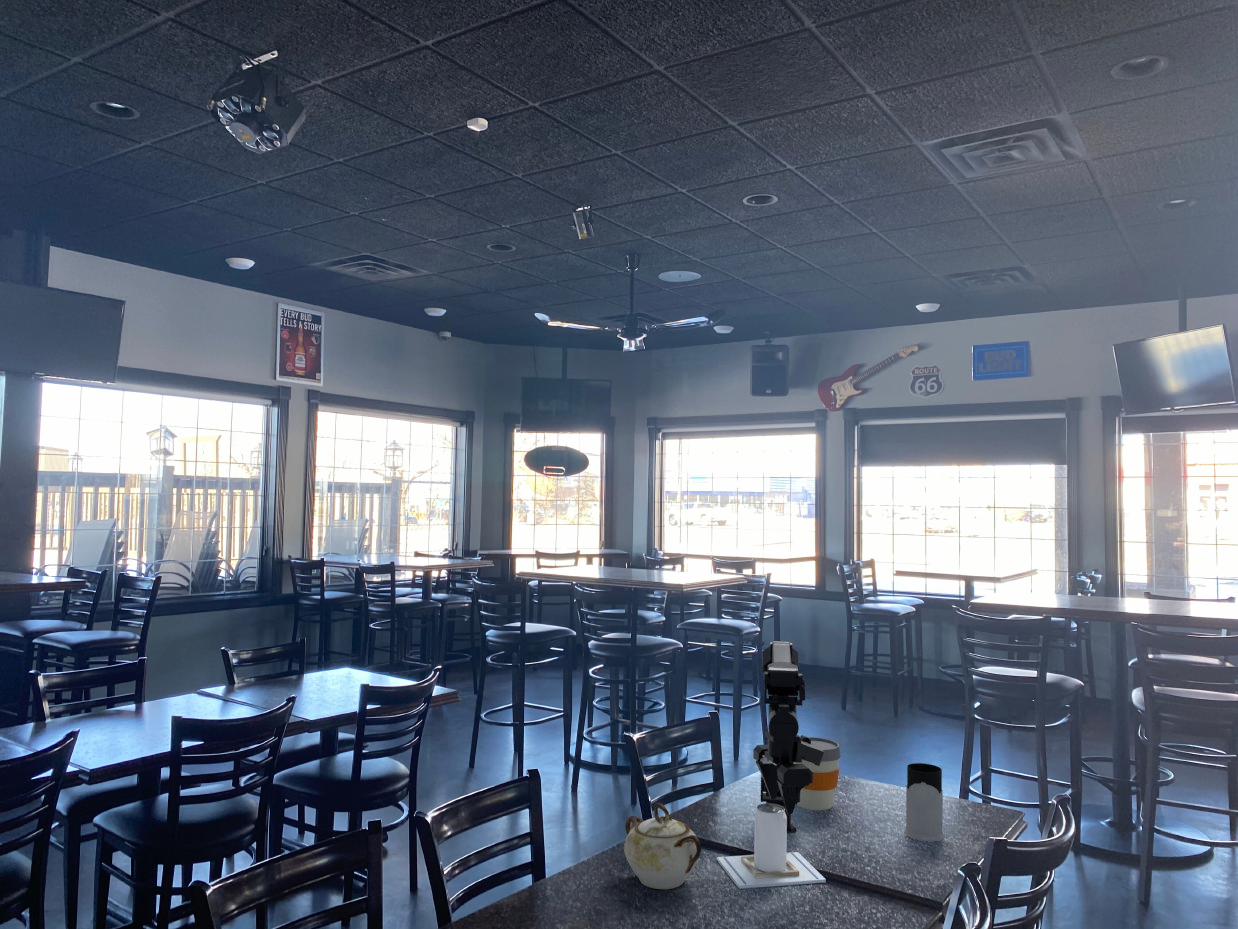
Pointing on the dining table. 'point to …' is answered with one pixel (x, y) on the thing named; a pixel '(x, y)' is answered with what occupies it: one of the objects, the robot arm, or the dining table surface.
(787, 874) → the seat frame
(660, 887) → the sugar bowl
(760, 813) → the can
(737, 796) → the dining table surface
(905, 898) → the dining table surface
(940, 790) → the glass holder
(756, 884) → the grey flat tray
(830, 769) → the reusable coffee cup
